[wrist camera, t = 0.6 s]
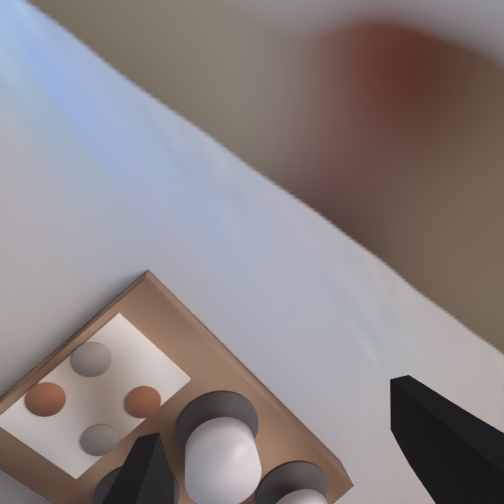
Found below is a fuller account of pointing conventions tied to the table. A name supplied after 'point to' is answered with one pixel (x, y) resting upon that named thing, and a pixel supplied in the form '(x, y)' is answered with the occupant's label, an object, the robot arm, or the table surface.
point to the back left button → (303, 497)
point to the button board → (148, 406)
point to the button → (221, 462)
